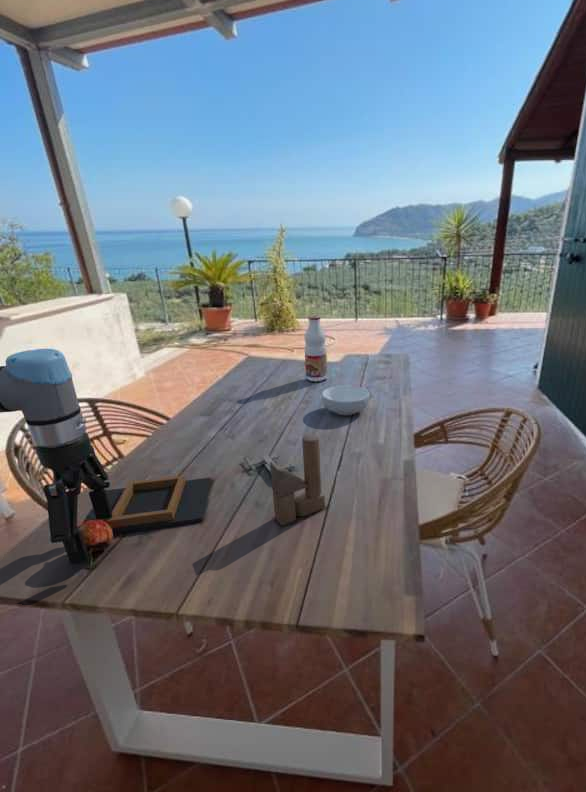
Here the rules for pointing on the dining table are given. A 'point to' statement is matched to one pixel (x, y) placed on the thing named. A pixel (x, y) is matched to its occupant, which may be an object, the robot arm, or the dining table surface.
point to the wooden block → (298, 485)
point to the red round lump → (95, 535)
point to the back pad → (156, 504)
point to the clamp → (267, 463)
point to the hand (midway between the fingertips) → (93, 538)
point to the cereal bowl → (345, 399)
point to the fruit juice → (315, 349)
